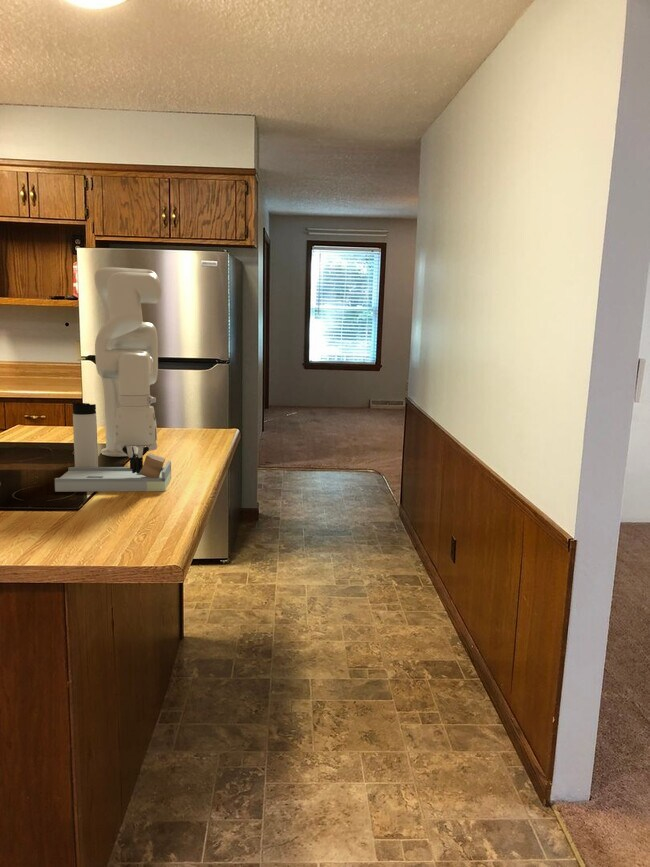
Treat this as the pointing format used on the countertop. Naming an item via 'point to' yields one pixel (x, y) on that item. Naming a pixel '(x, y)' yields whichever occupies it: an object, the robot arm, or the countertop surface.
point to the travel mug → (85, 435)
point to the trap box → (111, 479)
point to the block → (152, 466)
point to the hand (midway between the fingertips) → (136, 471)
